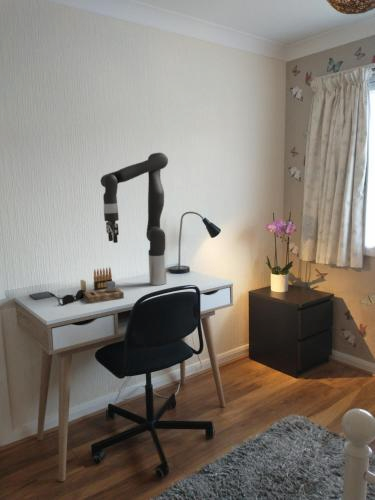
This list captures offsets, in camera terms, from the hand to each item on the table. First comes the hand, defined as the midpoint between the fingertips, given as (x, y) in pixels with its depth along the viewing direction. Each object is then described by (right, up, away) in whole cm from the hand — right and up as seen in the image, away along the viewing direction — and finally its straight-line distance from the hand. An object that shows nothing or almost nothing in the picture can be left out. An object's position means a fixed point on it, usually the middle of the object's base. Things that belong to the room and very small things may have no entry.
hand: (113, 241), depth 221 cm
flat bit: (-15, -29, -4) cm, 33 cm away
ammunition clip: (-7, -27, +9) cm, 29 cm away
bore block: (-3, -29, -10) cm, 31 cm away
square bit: (+1, -29, -8) cm, 30 cm away
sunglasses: (-22, -31, -12) cm, 40 cm away
